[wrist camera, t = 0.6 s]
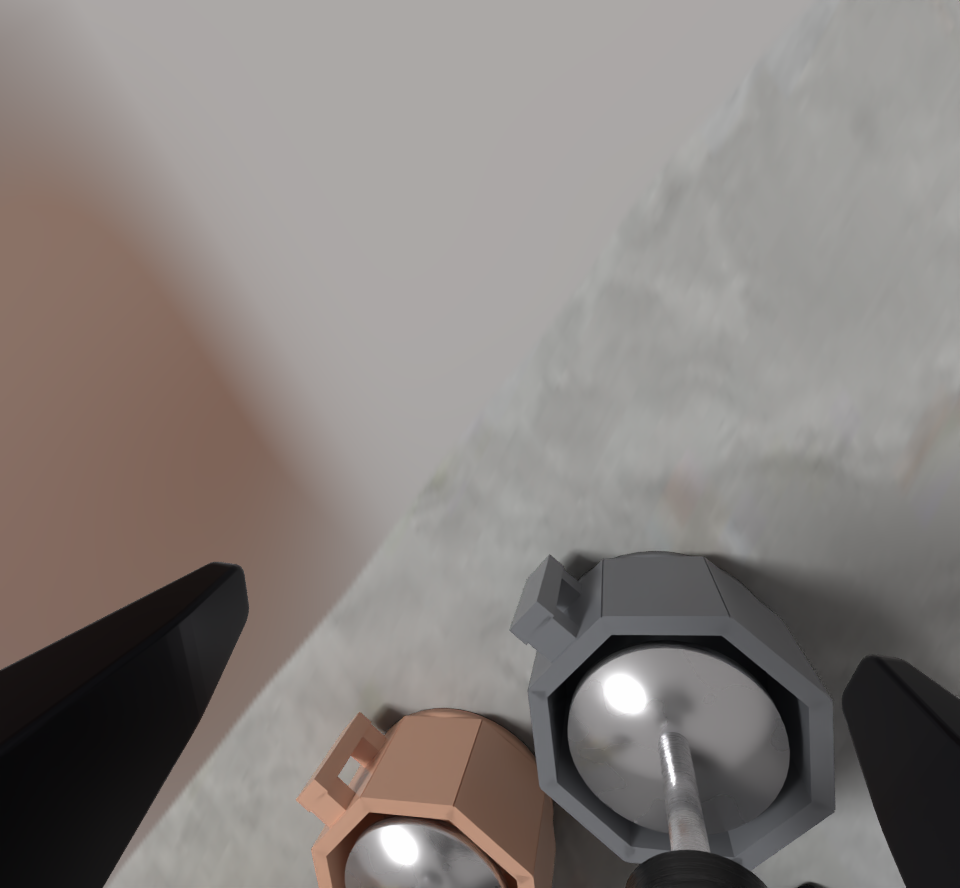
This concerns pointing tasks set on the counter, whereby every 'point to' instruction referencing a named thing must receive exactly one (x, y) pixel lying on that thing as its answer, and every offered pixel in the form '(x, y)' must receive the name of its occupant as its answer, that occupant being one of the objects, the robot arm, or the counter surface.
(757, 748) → the coffee tamper
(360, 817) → the bowl
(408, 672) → the counter surface
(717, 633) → the grey octagonal cup
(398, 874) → the black-handled metal tamper
